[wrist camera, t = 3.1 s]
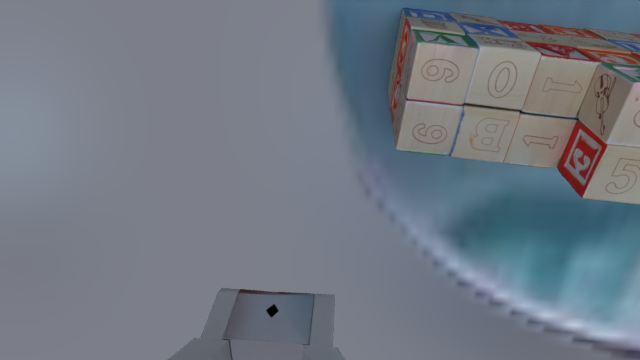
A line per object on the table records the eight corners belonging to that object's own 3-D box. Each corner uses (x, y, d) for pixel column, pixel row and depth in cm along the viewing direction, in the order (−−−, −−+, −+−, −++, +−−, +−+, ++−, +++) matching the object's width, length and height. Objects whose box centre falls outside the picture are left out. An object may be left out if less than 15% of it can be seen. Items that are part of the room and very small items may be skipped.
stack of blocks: (384, 94, 32) (397, 177, 22) (401, 5, 29) (425, 52, 18) (672, 130, 32) (828, 231, 21) (722, 43, 29) (934, 113, 18)
